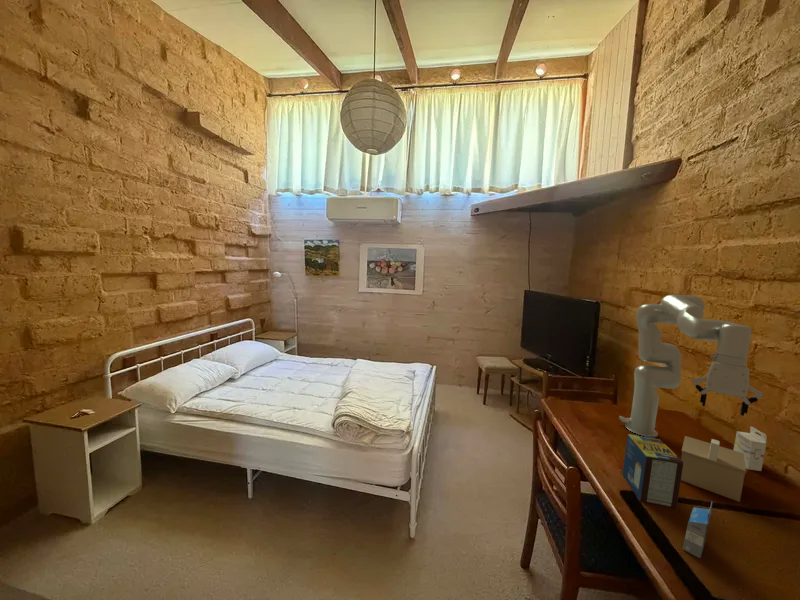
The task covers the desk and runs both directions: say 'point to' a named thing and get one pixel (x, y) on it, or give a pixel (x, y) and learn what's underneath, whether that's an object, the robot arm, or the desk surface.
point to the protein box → (652, 470)
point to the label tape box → (697, 531)
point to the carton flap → (714, 453)
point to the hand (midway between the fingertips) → (722, 409)
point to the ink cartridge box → (751, 448)
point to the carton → (712, 477)
